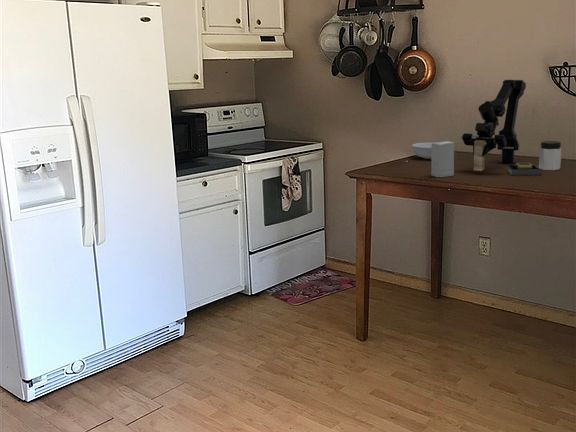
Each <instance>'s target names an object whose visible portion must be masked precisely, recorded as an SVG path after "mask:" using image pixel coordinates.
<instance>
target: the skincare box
mask: <svg viewBox="0 0 576 432" xmlns="http://www.w3.org/2000/svg"><path fill="white" fill-rule="evenodd" d="M431 143H432V159H431V170H430V171H431V174H430V175H431V176H432V177H435V178H438V177H440V178H445V177H452V176H455V142H452V141H449V140H446V141H445V140H444V141H440V142H438V141H437V142H431Z"/></svg>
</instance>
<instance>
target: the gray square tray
mask: <svg viewBox="0 0 576 432" xmlns="http://www.w3.org/2000/svg"><path fill="white" fill-rule="evenodd" d="M506 171H507V173H508V174H509V175H511V177H514V176H516V177H517V176H520V177H521V176H527V177H528V176H529V177H530V176H531V177H532V176H542V169H540V168H539V166H538V165H536V164H531V162H516V163H515V164H507V165H506Z"/></svg>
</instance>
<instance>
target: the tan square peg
mask: <svg viewBox="0 0 576 432" xmlns="http://www.w3.org/2000/svg"><path fill="white" fill-rule="evenodd" d="M485 145H486V143H485V140H476V141H474V155H473V171H476V172H477V171H478V172H482V171H485V163H486V162H485V161H486V155H484V156H482V153H483V150H484V148H485Z"/></svg>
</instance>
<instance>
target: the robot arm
mask: <svg viewBox="0 0 576 432" xmlns="http://www.w3.org/2000/svg"><path fill="white" fill-rule="evenodd" d="M526 87H527V84H526V82H525V81H524V80H523V79H504V80H503V81H502V86H501V87H500V88H499V91H498V93H497V95H496V97H495V98H494V99H493V100H485V102H484V103H481V105H479V106H478V112H479V115H480V117H481V119H482V120H483V122H476V123H475V128H474V131H476V135H474V134H473V133H468V132H467V133H466V132H465V133H463V134H462V136H461V139H462V141H463V142H462V143H464V145H465V146H472V154H473V156H474V141H476V140H485V148H484V150H483V153H482V156H484V155H485V156H486V155H487V154H488V153H490V152H491V151H492V150H494V149H497V150H501V159H500V160H499V163H501V164H516V163H517V162H516V161H515V151H519V148H520V144H519V141H518V139H517V138H518V137H517V132H516V131H515V126H516V120H517V112H518V109H519V108H518V107H519V101H520V99H521V98H522V96H523V95H524V93H525V90H526ZM506 103H507V104H506ZM504 115H505V118H504V123H503V128H502V129H501V130H499V131H498V134H496V132H495V131H496V128H497V126H499V118H502V117H503V116H504Z"/></svg>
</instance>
